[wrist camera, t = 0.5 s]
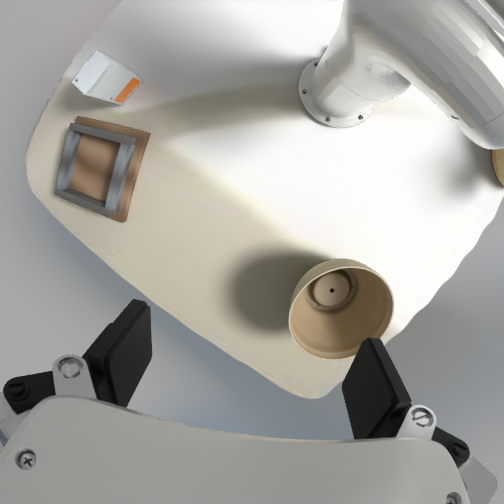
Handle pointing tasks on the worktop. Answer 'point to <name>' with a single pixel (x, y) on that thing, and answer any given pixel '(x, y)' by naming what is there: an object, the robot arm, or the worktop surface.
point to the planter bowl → (339, 309)
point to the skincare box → (106, 79)
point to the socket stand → (101, 166)
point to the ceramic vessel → (498, 163)
